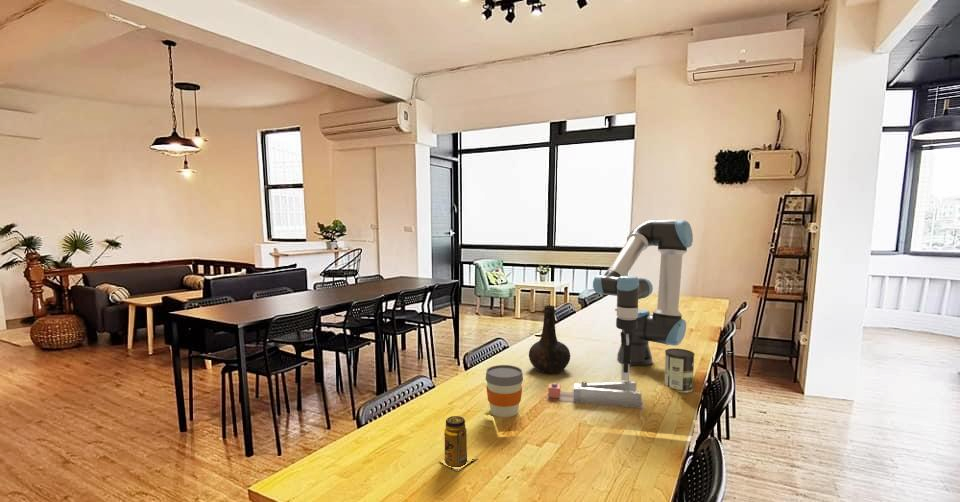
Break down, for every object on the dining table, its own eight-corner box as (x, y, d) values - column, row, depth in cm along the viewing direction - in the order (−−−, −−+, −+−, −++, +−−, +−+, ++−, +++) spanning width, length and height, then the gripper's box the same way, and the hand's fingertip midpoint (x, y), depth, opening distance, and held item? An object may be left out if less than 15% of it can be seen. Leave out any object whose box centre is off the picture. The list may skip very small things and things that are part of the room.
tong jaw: (580, 397, 162) (580, 381, 161) (633, 394, 164) (633, 379, 163) (582, 399, 160) (582, 383, 159) (636, 396, 162) (636, 381, 161)
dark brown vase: (552, 380, 182) (552, 312, 180) (520, 369, 195) (520, 305, 193) (578, 370, 194) (579, 306, 191) (546, 360, 207) (547, 300, 205)
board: (548, 393, 169) (548, 390, 169) (641, 401, 161) (641, 398, 161) (546, 403, 160) (546, 400, 160) (644, 412, 152) (644, 409, 152)
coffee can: (689, 383, 178) (690, 348, 177) (696, 393, 168) (697, 357, 167) (661, 381, 180) (662, 347, 179) (667, 391, 170) (668, 355, 169)
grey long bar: (573, 396, 163) (574, 383, 162) (639, 402, 158) (639, 388, 157) (573, 402, 158) (573, 388, 157) (641, 408, 153) (641, 394, 152)
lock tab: (549, 392, 166) (549, 381, 165) (560, 393, 165) (560, 382, 164) (548, 397, 162) (548, 385, 161) (559, 398, 161) (559, 386, 160)
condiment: (438, 462, 122) (437, 420, 121) (459, 450, 129) (458, 409, 128) (457, 472, 118) (457, 428, 117) (478, 459, 124) (478, 417, 123)
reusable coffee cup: (526, 409, 155) (526, 366, 154) (517, 425, 144) (517, 379, 142) (492, 404, 159) (492, 363, 158) (480, 419, 148) (480, 375, 146)
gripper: (615, 313, 174) (613, 373, 175) (617, 321, 161) (615, 385, 163) (635, 314, 172) (633, 375, 174) (639, 322, 159) (637, 387, 161)
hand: (625, 379), depth 168 cm, fingers closed
